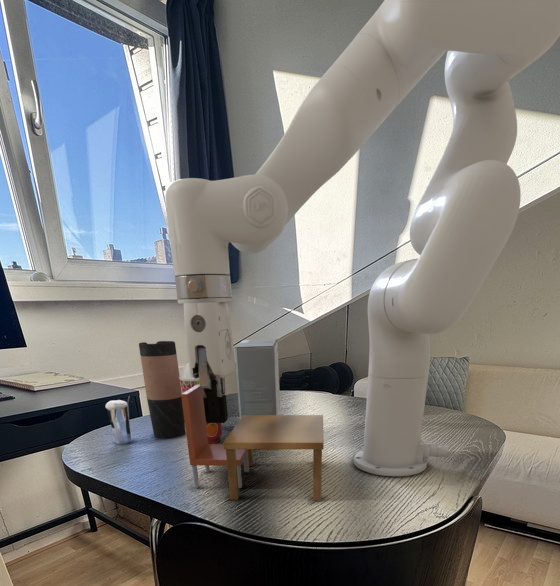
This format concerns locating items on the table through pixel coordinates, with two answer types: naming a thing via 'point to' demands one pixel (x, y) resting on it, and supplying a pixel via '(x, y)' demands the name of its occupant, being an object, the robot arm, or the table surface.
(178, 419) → the travel mug
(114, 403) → the milkshake
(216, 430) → the smoothie
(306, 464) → the table surface
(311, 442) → the mini table
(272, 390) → the hard drive box
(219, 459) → the chair
